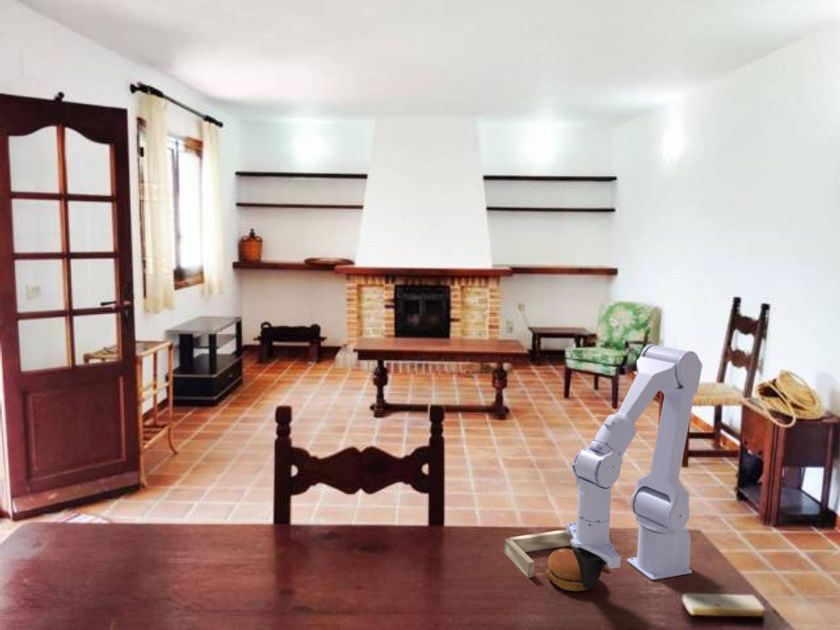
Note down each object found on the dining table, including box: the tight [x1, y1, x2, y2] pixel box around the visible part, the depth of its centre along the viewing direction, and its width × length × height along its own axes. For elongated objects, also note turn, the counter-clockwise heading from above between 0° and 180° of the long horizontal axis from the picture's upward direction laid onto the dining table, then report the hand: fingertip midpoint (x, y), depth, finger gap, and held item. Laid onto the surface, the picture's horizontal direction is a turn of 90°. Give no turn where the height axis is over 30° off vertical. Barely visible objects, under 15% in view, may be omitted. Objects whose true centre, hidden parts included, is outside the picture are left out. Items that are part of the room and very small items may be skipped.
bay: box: [503, 529, 574, 578], centre depth 135 cm, size 16×11×3 cm
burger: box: [545, 547, 589, 592], centre depth 127 cm, size 10×9×5 cm
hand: (589, 587), depth 122 cm, fingers closed
